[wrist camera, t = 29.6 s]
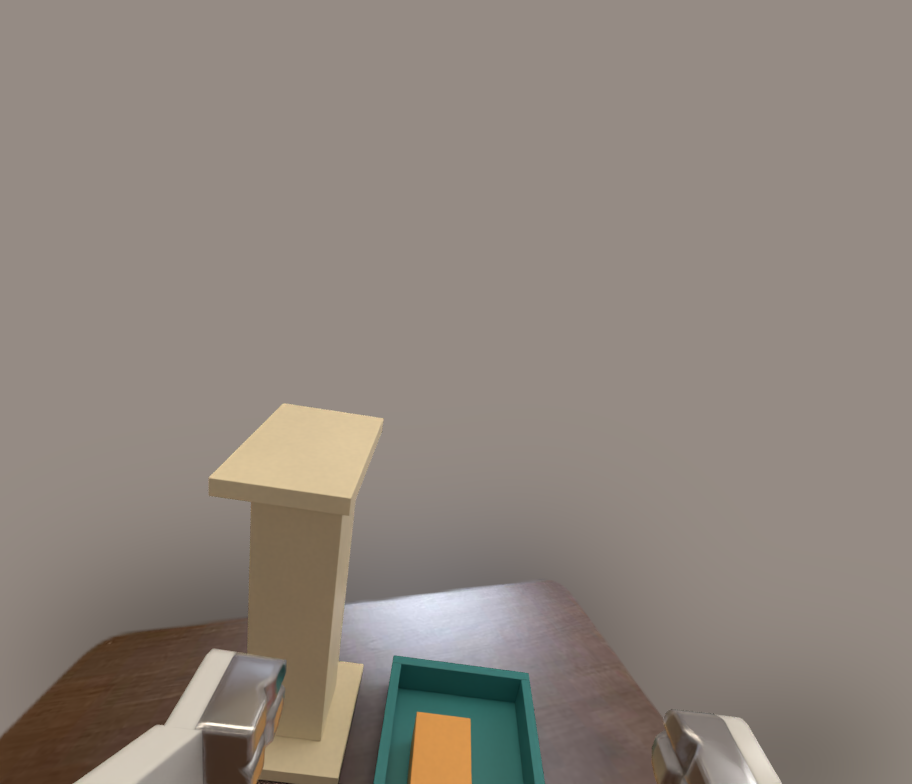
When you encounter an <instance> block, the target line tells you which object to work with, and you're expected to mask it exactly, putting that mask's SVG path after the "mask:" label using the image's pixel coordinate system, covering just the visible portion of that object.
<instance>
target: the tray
mask: <svg viewBox="0 0 912 784" xmlns="http://www.w3.org/2000/svg"><path fill="white" fill-rule="evenodd" d="M417 712H424V713H432V714H440V715H447V716H455V717H463V718H470V719H471V775H472V784H545V781H544V774H543V768H542V761H541V754H540V748H539V741H538V734H537V727H536V721H535V714H534V707H533V701H532V694H531V687H530V681H529V674H528V673H523V672H516V671H508V670H501V669H493V668H485V667H478V666H470V665H463V664H455V663H448V662H440V661H432V660H425V659H417V658H410V657H402V656H394V657H393V663H392V669H391V675H390V682H389V688H388V694H387V701H386V707H385V713H384V720H383V726H382V732H381V739H380V745H379V751H378V758H377V764H376V770H375V777H374V783H373V784H407V780H408V770H409V760H410V749H411V741H412V735H413V730H414V724H415V719H416V714H417Z"/></svg>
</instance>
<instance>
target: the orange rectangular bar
mask: <svg viewBox="0 0 912 784" xmlns="http://www.w3.org/2000/svg"><path fill="white" fill-rule="evenodd" d="M407 784H472V775H471V719H470V718H463V717H455V716H447V715H440V714H432V713H424V712H417V714H416V719H415V724H414V730H413V735H412V741H411V749H410V760H409V770H408V780H407Z"/></svg>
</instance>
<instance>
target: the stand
mask: <svg viewBox="0 0 912 784" xmlns="http://www.w3.org/2000/svg"><path fill="white" fill-rule="evenodd" d="M382 427H383V418H377V417H371V416H364V415H358V414H351V413H344V412H338V411H331V410H324V409H318V408H312V407H305V406H298V405H292V404H285V403H284V404H282V405H281V406H280V407H279V408H278V409H277V410H276V411H275V412H274V413H273V414H272V415H271V416H270V417H269V418H268V419H267V420H266V421H265V422H264V423H263V424H262V425H261V426H260V427H259V428H258V429H257V430H256V431H255V432H254V433H253V434H252V435H251V436H250V437H249V438H248V439H247V440H246V441H245V442H244V443H243V444H242V445H241V446H240V447H239V448H238V449H237V450H236V451H235V452H234V453H233V454H232V455H231V456H230V457H229V458H228V459H227V460H226V461H225V462H224V463H223V464H222V465H221V466H220V467H219V468H218V469H217V470H216V471H215V472H214V473H213V474H212V475H211V476H210V477H209V496H214V497H221V498H228V499H235V500H242V501H248V502H251V526H250V566H249V569H250V570H249V605H248V606H249V607H248V645H247V654H253V655H259V656H266V657H272V658H278V659H284V660H287V667H286V675H285V677H284V680H283V682H282V685H283V686H284V687H285V699H284V705H283V710H282V714H281V718H280V721H279V725H278V728H277V731H276V734H275V737H274V739H273V742H272V743H270V744H269V745H268V746H267V747H266V748H265V758H264V767H263V770H262V772H261V775H260V778H259V780H268V781H276V782H284V783H293V784H338V782H339V777H340V773H341V768H342V764H343V759H344V755H345V750H346V746H347V741H348V737H349V732H350V728H351V723H352V718H353V714H354V709H355V705H356V700H357V696H358V691H359V687H360V682H361V678H362V673H363V664H357V663H349V662H342V661H339V652H340V643H341V633H342V624H343V614H344V605H345V596H346V586H347V577H348V567H349V558H350V549H351V539H352V530H353V520H354V511H355V502H356V497H357V495H358V492H359V490H360V487H361V485H362V482H363V479H364V477H365V474H366V472H367V469H368V466H369V464H370V461H371V458H372V456H373V454H374V451H375V448H376V446H377V443H378V440H379V438H380V435H381V433H382Z"/></svg>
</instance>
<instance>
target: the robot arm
mask: <svg viewBox="0 0 912 784" xmlns="http://www.w3.org/2000/svg"><path fill="white" fill-rule="evenodd" d="M286 667H287V660H284V659H278V658H272V657H266V656H259V655H253V654H247V653H241V652H233V651H226V650H219V649H212V650H211V651H210V652H209V653H208V654H207V655H206V656H205V658H204V660H203V661H202V663H201V665H200V666H199V668H198V670H197V671H196V673H195V675H194V676H193V678H192V680H191V681H190V683H189V685H188V686H187V688H186V690H185V691H184V693H183V695H182V696H181V698H180V700H179V702H178V703H177V705H176V707H175V708H174V710H173V712H172V713H171V715H170V717H169V718H168V720H167V722H166V723H165V725H155V726H154V727H152V728H151V729H150V730H148V731H147V732H145V733H144V734H143V735H141V736H140V737H138V738H137V739H136V740H134V741H133V742H131V743H130V744H129V745H127V746H126V747H124V748H123V749H122V750H120V751H119V752H117V753H116V754H114V755H113V756H112V757H110V758H109V759H107V760H106V761H105V762H103V763H102V764H100V765H99V766H98V767H96V768H95V769H93V770H92V771H91V772H89V773H88V774H86V775H85V776H84V777H82V778H81V779H79V780H78V781H76V782H75V783H74V784H257V783H258V780H259V778H260V775H261V772H262V770H263V767H264V758H265V748H266V747H267V746H268V745H269V744H270V743H272V742H273V739H274V737H275V734H276V731H277V728H278V725H279V721H280V718H281V714H282V710H283V705H284V699H285V687H284V686H283V685H282V682H283V680H284V677H285V675H286ZM663 724H664V726H665V729H666V730H664V731H663V732H661V733H660V734H658V735H657V736H656V738H655V741H654V744H653V746H652V766H653V771H654V776H655V779H656V782H657V784H782V783H781V781H780V780H779V778H778V776H777V774H776V773H775V771H774V769H773V768H772V766H771V764H770V762H769V761H768V759H767V757H766V755H765V754H764V752H763V750H762V748H761V747H760V745H759V743H758V742H757V740H756V738H755V736H754V735H753V733H752V731H751V729H750V728H749V726H748V724H747V723H746V722H745V721H744V720H743V719H742V718H738V717H730V716H722V715H715V714H711V713H702V712H693V711H684V710H676V709H671V710H669V711H668V712H666V714H665V716H664V719H663Z"/></svg>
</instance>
